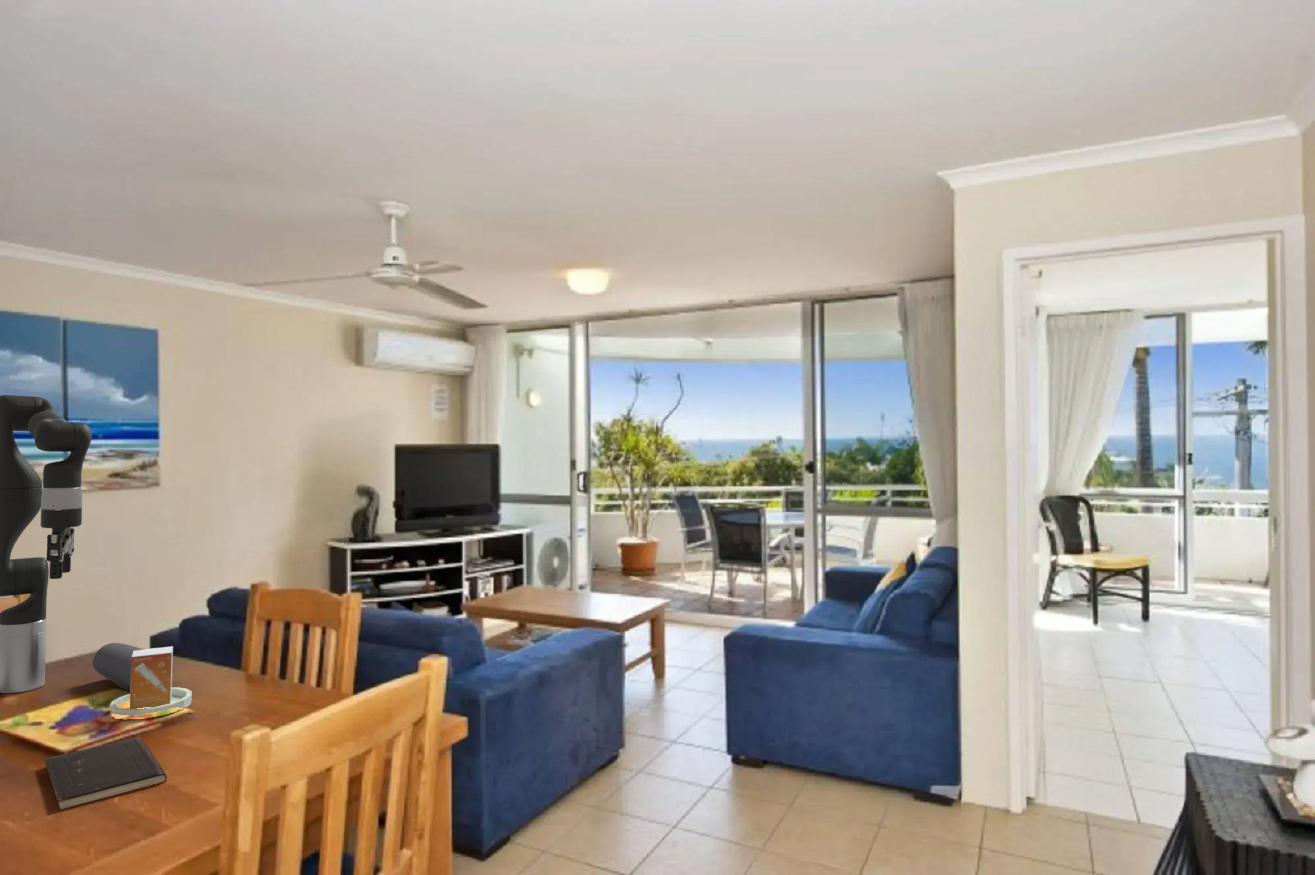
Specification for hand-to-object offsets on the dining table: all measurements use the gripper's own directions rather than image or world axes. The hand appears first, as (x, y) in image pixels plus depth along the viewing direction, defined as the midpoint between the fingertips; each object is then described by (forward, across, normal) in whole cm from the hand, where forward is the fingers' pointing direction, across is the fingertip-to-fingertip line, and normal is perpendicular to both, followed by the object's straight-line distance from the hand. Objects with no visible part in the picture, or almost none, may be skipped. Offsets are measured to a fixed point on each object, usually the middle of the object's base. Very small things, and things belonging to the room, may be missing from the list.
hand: (60, 575), depth 172 cm
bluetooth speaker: (+32, -15, +12) cm, 38 cm away
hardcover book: (+33, +44, +15) cm, 57 cm away
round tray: (+32, +6, +19) cm, 38 cm away
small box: (+32, +6, +19) cm, 37 cm away
